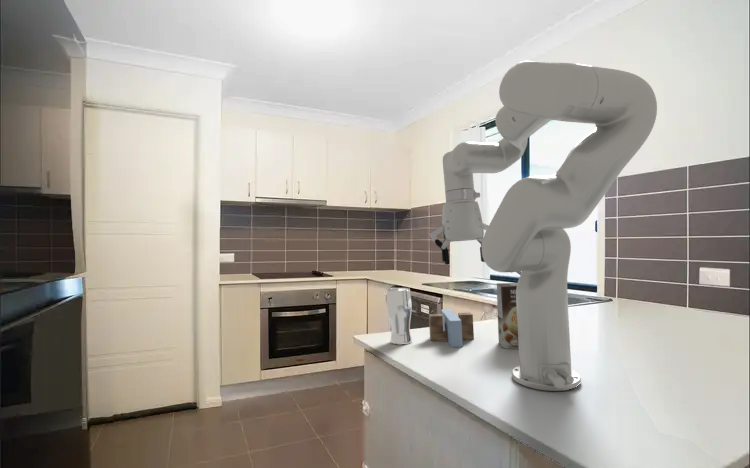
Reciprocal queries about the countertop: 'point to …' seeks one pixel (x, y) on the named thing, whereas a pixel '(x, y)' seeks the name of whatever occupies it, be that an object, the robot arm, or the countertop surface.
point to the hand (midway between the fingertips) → (465, 263)
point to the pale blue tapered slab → (452, 327)
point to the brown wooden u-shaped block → (441, 335)
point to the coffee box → (507, 315)
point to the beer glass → (399, 314)
